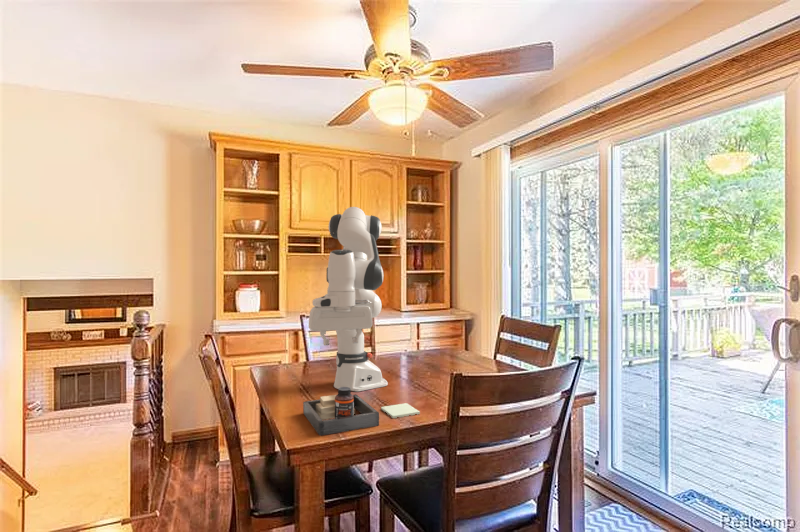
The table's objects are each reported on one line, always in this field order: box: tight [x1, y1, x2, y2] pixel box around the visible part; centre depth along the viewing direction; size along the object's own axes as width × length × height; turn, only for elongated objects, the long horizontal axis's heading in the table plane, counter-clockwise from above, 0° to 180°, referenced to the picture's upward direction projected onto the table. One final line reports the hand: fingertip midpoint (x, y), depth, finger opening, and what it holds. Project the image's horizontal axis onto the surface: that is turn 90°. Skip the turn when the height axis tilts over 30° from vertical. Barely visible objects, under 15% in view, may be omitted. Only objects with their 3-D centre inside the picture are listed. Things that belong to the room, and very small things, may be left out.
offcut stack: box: [316, 394, 356, 420], centre depth 144 cm, size 12×6×6 cm, turn 116°
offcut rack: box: [302, 394, 380, 437], centre depth 140 cm, size 19×21×4 cm
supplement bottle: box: [334, 387, 355, 419], centre depth 136 cm, size 6×6×11 cm
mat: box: [380, 402, 421, 419], centre depth 147 cm, size 10×10×1 cm
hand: (341, 344), depth 135 cm, fingers open, 8 cm apart
